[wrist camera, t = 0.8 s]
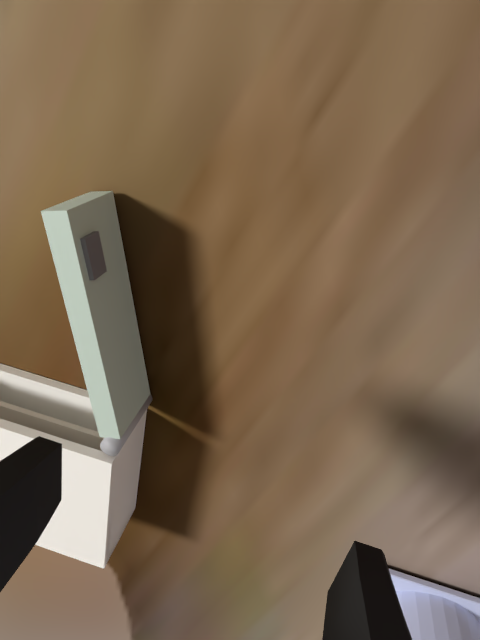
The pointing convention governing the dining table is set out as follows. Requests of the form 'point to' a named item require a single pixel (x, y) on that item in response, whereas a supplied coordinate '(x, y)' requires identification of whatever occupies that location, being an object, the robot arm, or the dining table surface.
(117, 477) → the cabinet
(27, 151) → the dining table surface
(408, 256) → the dining table surface
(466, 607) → the robot arm
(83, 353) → the door
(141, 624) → the dining table surface
